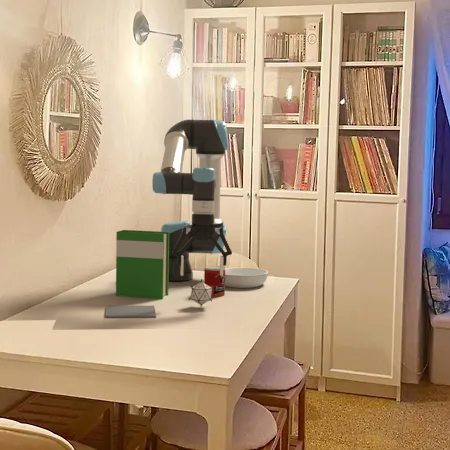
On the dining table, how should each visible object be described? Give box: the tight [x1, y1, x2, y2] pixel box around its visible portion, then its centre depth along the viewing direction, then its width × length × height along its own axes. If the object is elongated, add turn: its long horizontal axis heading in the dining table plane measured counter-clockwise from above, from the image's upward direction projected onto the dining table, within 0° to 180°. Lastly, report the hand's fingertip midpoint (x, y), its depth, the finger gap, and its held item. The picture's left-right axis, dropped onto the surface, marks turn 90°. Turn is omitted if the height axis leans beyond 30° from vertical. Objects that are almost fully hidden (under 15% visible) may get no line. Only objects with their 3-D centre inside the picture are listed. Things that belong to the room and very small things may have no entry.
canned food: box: [203, 265, 226, 298], centre depth 264 cm, size 8×8×11 cm
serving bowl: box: [225, 266, 269, 289], centre depth 284 cm, size 21×21×7 cm
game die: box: [188, 278, 214, 308], centre depth 244 cm, size 9×8×10 cm
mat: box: [104, 305, 157, 319], centre depth 234 cm, size 16×16×1 cm
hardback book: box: [115, 229, 169, 300], centre depth 260 cm, size 18×7×24 cm, turn 78°
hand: (201, 275), depth 243 cm, fingers open, 13 cm apart
